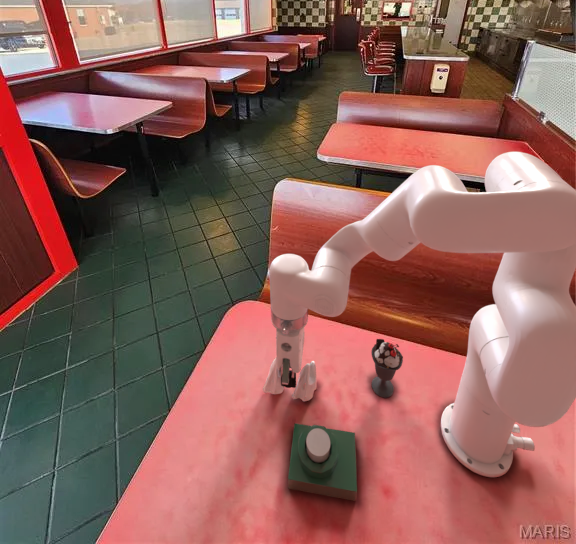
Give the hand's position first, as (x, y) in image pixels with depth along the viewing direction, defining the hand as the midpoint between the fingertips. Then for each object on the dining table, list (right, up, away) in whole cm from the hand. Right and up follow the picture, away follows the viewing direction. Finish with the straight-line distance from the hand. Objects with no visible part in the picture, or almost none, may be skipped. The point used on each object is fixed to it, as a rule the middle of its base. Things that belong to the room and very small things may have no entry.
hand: (290, 374), depth 73 cm
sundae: (+21, -5, +3) cm, 22 cm away
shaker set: (0, -5, +2) cm, 6 cm away
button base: (+6, -10, -10) cm, 16 cm away
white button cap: (+5, -6, -12) cm, 14 cm away
